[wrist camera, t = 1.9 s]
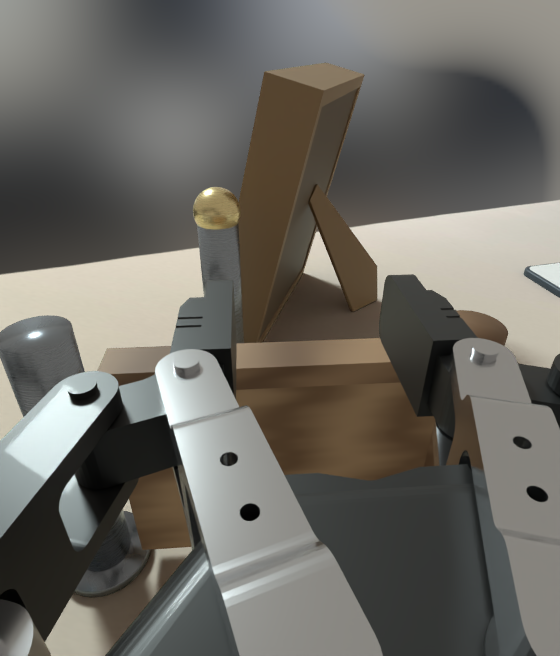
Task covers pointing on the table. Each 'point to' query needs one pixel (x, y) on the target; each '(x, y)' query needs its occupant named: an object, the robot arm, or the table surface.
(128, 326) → the table surface
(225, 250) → the post
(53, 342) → the hinge post
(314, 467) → the gate
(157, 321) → the table surface
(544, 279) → the smartphone
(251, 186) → the photo frame
